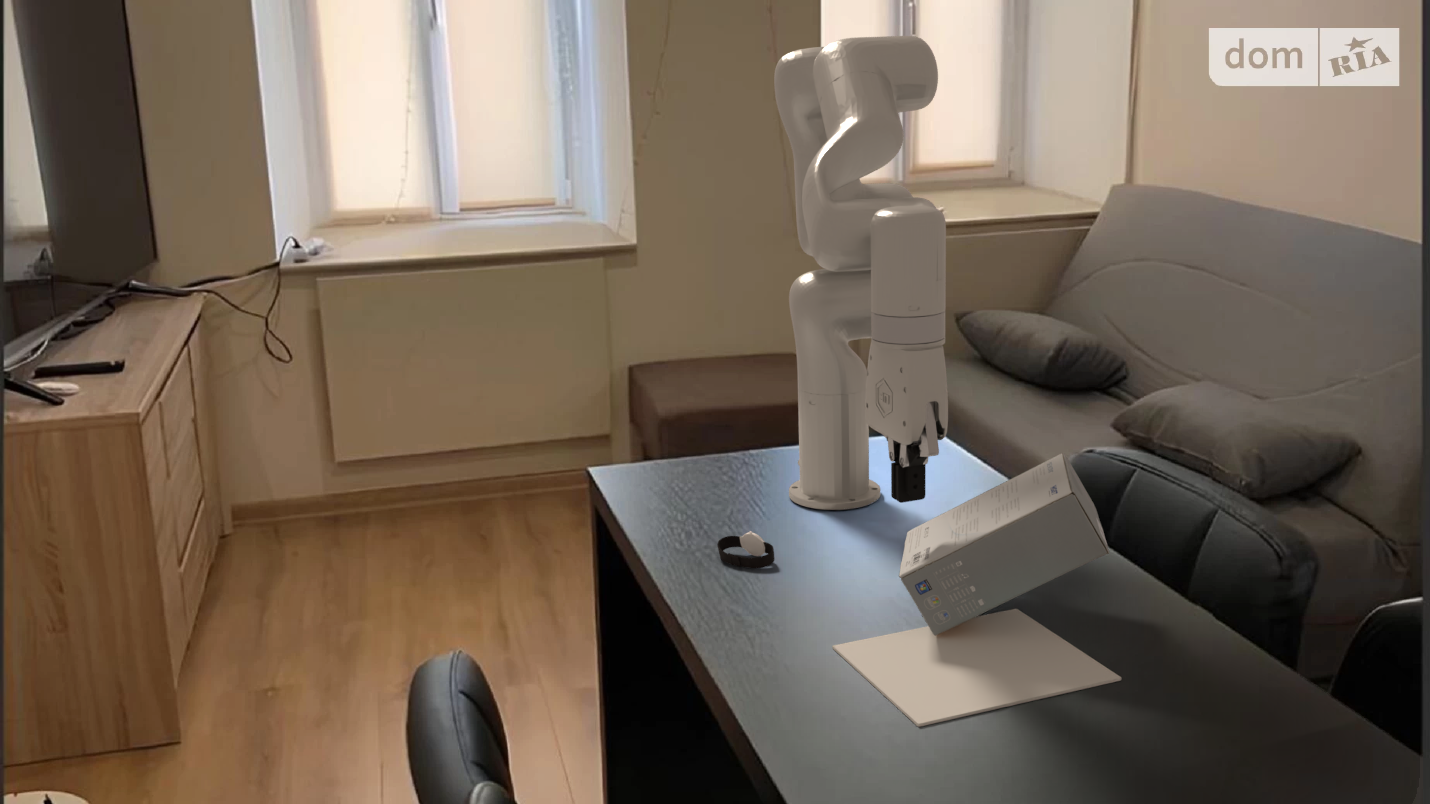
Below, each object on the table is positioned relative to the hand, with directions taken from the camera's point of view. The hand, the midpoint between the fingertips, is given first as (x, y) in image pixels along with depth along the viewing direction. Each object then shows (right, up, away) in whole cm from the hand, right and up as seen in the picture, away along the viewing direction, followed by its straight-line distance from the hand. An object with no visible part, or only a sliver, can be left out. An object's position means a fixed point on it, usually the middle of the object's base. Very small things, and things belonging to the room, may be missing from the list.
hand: (908, 498), depth 139 cm
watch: (-17, -9, +21) cm, 28 cm away
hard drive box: (+1, -9, +4) cm, 10 cm away
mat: (+5, -16, -8) cm, 19 cm away
